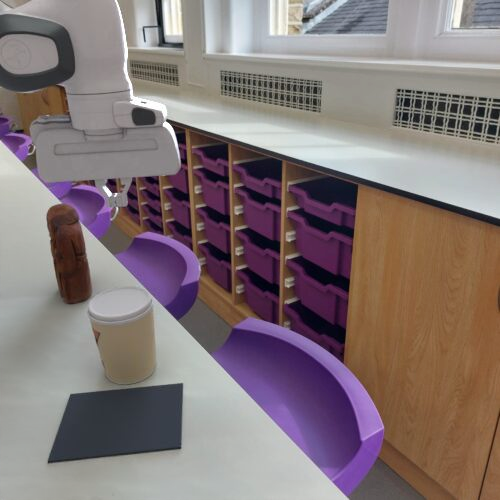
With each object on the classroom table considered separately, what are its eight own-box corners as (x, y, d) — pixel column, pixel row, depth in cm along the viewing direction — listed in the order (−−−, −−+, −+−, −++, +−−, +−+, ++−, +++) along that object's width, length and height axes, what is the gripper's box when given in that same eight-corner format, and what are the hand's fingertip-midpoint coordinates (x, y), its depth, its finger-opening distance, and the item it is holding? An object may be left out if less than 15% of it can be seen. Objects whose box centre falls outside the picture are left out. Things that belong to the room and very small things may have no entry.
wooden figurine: (57, 282, 102) (38, 200, 94) (88, 275, 104) (73, 194, 97) (62, 308, 92) (42, 219, 85) (97, 299, 94) (80, 212, 87)
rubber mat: (47, 463, 59) (47, 461, 59) (70, 395, 70) (70, 393, 70) (181, 448, 60) (180, 446, 60) (182, 384, 71) (182, 382, 71)
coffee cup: (110, 350, 79) (97, 285, 74) (167, 349, 79) (158, 284, 74) (91, 388, 71) (76, 318, 66) (155, 388, 70) (144, 317, 65)
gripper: (19, 120, 64) (41, 217, 70) (174, 112, 66) (183, 208, 72) (33, 112, 70) (52, 203, 76) (176, 105, 72) (184, 195, 78)
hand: (117, 205), depth 74 cm, fingers closed
